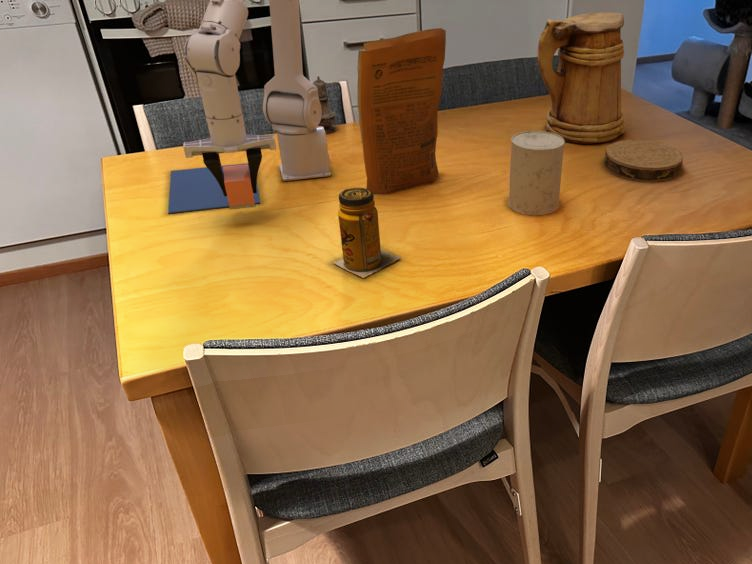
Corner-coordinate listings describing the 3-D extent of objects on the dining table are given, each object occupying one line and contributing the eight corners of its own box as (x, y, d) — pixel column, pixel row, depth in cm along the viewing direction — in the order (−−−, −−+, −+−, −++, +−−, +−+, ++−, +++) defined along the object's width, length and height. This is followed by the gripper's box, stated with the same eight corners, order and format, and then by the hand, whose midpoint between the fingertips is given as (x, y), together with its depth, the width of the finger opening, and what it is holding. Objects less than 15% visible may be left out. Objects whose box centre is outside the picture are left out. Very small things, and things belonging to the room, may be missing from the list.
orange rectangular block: (253, 190, 125) (247, 164, 122) (255, 207, 120) (250, 179, 117) (228, 193, 124) (222, 166, 121) (230, 209, 119) (224, 182, 116)
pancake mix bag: (456, 180, 139) (456, 29, 122) (371, 202, 130) (358, 42, 113) (438, 169, 144) (435, 22, 127) (354, 189, 135) (340, 34, 118)
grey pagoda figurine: (331, 135, 159) (325, 80, 151) (307, 132, 159) (300, 78, 152) (341, 126, 163) (335, 73, 156) (317, 124, 164) (310, 71, 157)
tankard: (639, 136, 162) (658, 19, 147) (558, 154, 152) (569, 30, 137) (590, 114, 174) (603, 3, 159) (512, 129, 164) (517, 13, 149)
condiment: (332, 263, 112) (323, 193, 105) (371, 245, 117) (365, 177, 110) (363, 279, 108) (356, 207, 101) (402, 259, 113) (398, 190, 106)
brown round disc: (648, 188, 138) (651, 174, 136) (588, 164, 147) (590, 150, 145) (695, 169, 146) (698, 155, 145) (636, 147, 156) (638, 134, 154)
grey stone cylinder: (564, 198, 134) (570, 134, 126) (551, 218, 126) (557, 152, 119) (516, 190, 136) (519, 128, 128) (501, 210, 129) (504, 145, 121)
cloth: (253, 164, 144) (253, 162, 144) (260, 203, 129) (259, 202, 129) (171, 172, 140) (171, 170, 140) (168, 214, 125) (168, 212, 125)
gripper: (176, 125, 108) (196, 206, 116) (271, 117, 112) (284, 196, 120) (176, 111, 113) (196, 190, 122) (268, 104, 117) (281, 181, 125)
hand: (240, 192), depth 121 cm, fingers closed on orange rectangular block, 4 cm apart
